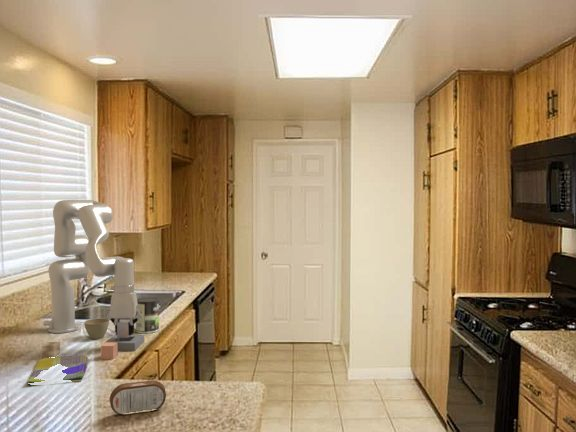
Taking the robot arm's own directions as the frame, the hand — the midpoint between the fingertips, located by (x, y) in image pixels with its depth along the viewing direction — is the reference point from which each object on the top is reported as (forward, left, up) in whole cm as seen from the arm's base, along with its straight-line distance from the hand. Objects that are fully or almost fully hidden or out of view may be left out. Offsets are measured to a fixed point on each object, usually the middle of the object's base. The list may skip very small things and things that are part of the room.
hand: (124, 333), depth 202 cm
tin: (+25, -62, -5) cm, 67 cm away
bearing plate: (0, 0, -5) cm, 5 cm away
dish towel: (-12, -30, -6) cm, 33 cm away
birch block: (-23, -14, -5) cm, 27 cm away
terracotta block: (-1, -14, -5) cm, 15 cm away
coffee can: (+2, +24, -5) cm, 25 cm away
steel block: (0, 0, -1) cm, 1 cm away
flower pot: (-16, +12, -5) cm, 21 cm away
